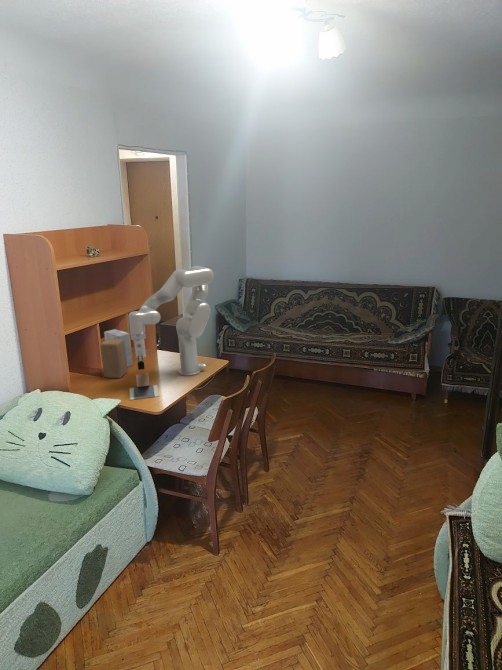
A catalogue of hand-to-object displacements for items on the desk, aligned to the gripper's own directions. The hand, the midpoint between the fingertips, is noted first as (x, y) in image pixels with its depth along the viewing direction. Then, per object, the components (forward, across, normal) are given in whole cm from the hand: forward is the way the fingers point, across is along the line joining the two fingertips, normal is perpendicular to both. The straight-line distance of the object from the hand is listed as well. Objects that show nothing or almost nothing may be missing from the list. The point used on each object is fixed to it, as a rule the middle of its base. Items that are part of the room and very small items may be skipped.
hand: (141, 368), depth 239 cm
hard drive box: (+9, +35, +12) cm, 38 cm away
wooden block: (+9, +19, +14) cm, 25 cm away
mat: (+9, -10, 0) cm, 14 cm away
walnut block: (+6, -1, 0) cm, 6 cm away
